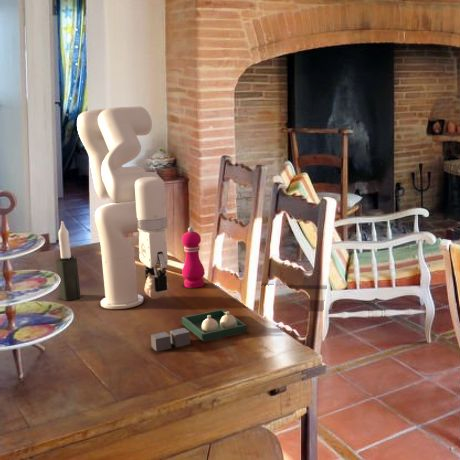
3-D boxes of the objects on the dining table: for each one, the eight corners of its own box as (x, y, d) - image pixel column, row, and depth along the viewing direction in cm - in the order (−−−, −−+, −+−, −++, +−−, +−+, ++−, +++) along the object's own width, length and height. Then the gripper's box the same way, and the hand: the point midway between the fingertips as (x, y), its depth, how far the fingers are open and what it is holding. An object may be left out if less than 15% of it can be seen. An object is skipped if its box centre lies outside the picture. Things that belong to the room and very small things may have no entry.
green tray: (182, 325, 230) (181, 317, 229) (223, 317, 237) (223, 308, 237) (203, 343, 217) (203, 334, 216) (247, 333, 224) (246, 324, 224)
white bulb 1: (199, 332, 223) (198, 315, 222) (214, 329, 225) (213, 311, 224) (205, 337, 219) (204, 319, 218) (220, 334, 222) (219, 316, 221)
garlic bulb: (140, 296, 219) (138, 268, 217) (163, 291, 223) (161, 264, 221) (151, 303, 214) (149, 274, 212) (173, 298, 218) (171, 270, 216)
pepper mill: (199, 289, 263) (195, 230, 258) (179, 287, 265) (175, 229, 260) (209, 282, 270) (205, 225, 265) (189, 281, 271) (185, 224, 267)
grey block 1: (151, 348, 213) (150, 334, 212) (166, 345, 215) (165, 331, 214) (156, 353, 210) (155, 339, 209) (171, 350, 212) (170, 336, 211)
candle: (72, 294, 258) (65, 218, 252) (82, 297, 255) (74, 220, 249) (58, 298, 254) (49, 221, 248) (67, 301, 251) (59, 223, 245)
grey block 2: (170, 344, 216) (169, 330, 215) (185, 341, 218) (184, 327, 217) (176, 349, 213) (175, 335, 212) (190, 345, 215) (189, 331, 214)
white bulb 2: (218, 328, 226) (217, 311, 225) (232, 325, 228) (231, 308, 227) (224, 333, 223) (223, 315, 221) (239, 330, 225) (238, 312, 224)
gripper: (128, 218, 218) (132, 280, 223) (148, 232, 204) (153, 298, 209) (155, 215, 222) (159, 276, 227) (177, 228, 209) (181, 293, 213)
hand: (156, 286), depth 218 cm, fingers closed on garlic bulb, 6 cm apart
